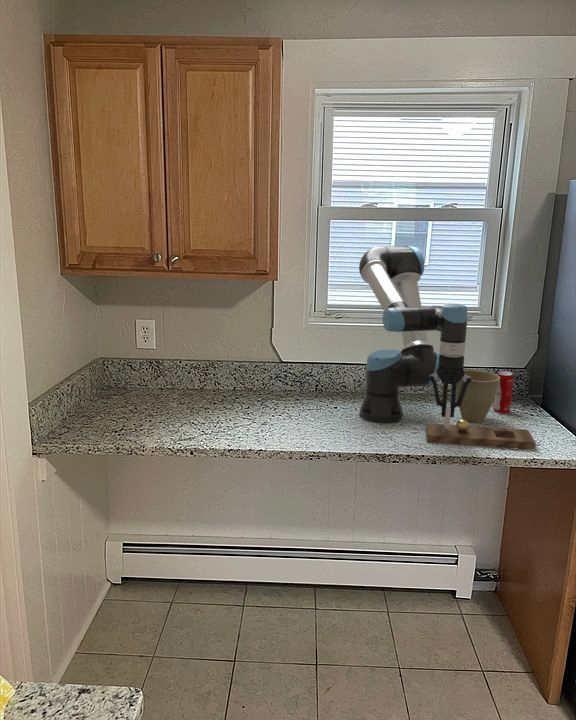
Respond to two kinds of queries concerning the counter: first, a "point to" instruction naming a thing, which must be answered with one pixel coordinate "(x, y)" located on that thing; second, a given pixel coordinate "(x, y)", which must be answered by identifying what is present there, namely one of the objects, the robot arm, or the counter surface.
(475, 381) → the plant pot
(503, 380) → the beverage can
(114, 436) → the counter surface
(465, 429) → the brass ball
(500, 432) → the board
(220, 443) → the counter surface
